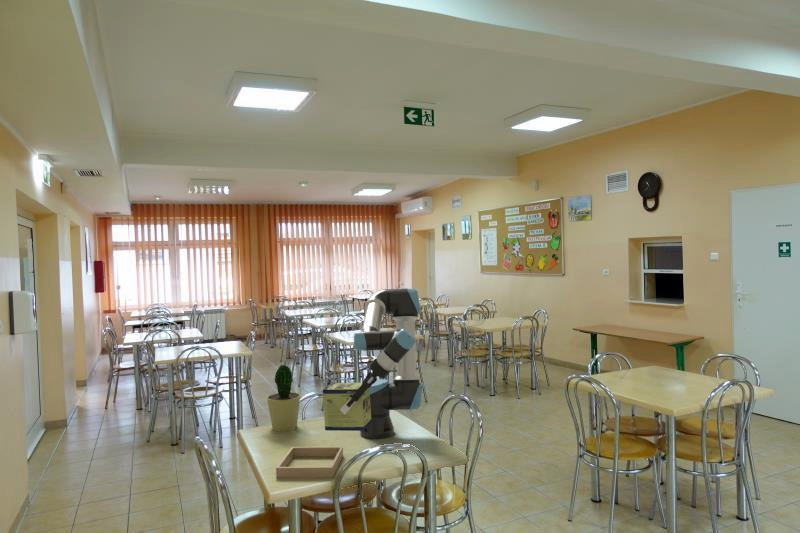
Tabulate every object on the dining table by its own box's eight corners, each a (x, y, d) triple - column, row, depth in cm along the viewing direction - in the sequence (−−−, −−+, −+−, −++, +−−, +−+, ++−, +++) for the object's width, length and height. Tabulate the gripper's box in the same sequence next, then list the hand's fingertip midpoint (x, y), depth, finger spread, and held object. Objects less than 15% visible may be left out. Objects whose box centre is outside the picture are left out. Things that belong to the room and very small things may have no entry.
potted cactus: (265, 425, 261) (263, 362, 260) (297, 420, 267) (295, 359, 267) (271, 434, 247) (269, 368, 246) (304, 429, 253) (302, 364, 252)
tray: (343, 455, 217) (342, 446, 217) (332, 477, 196) (332, 467, 196) (292, 455, 219) (291, 447, 219) (276, 477, 197) (276, 467, 197)
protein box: (364, 431, 199) (361, 388, 199) (324, 431, 203) (321, 389, 202) (372, 422, 209) (369, 382, 209) (334, 422, 213) (331, 382, 213)
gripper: (386, 378, 192) (346, 423, 194) (394, 365, 215) (358, 405, 217) (370, 364, 192) (331, 409, 194) (380, 352, 216) (344, 392, 218)
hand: (345, 407), depth 206 cm, fingers closed on protein box, 11 cm apart
